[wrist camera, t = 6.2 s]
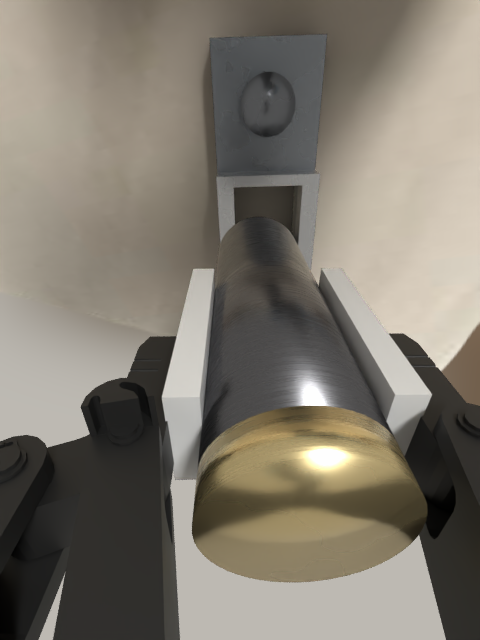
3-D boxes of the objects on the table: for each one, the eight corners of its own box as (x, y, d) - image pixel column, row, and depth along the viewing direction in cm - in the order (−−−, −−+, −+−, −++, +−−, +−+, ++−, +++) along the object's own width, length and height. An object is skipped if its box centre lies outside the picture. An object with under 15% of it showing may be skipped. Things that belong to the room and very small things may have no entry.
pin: (216, 216, 16) (182, 460, 5) (301, 216, 16) (463, 455, 5) (219, 292, 18) (199, 584, 7) (293, 292, 18) (394, 580, 7)
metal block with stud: (211, 42, 24) (206, 30, 20) (320, 38, 24) (337, 26, 20) (225, 294, 36) (224, 318, 32) (300, 292, 36) (308, 316, 32)
